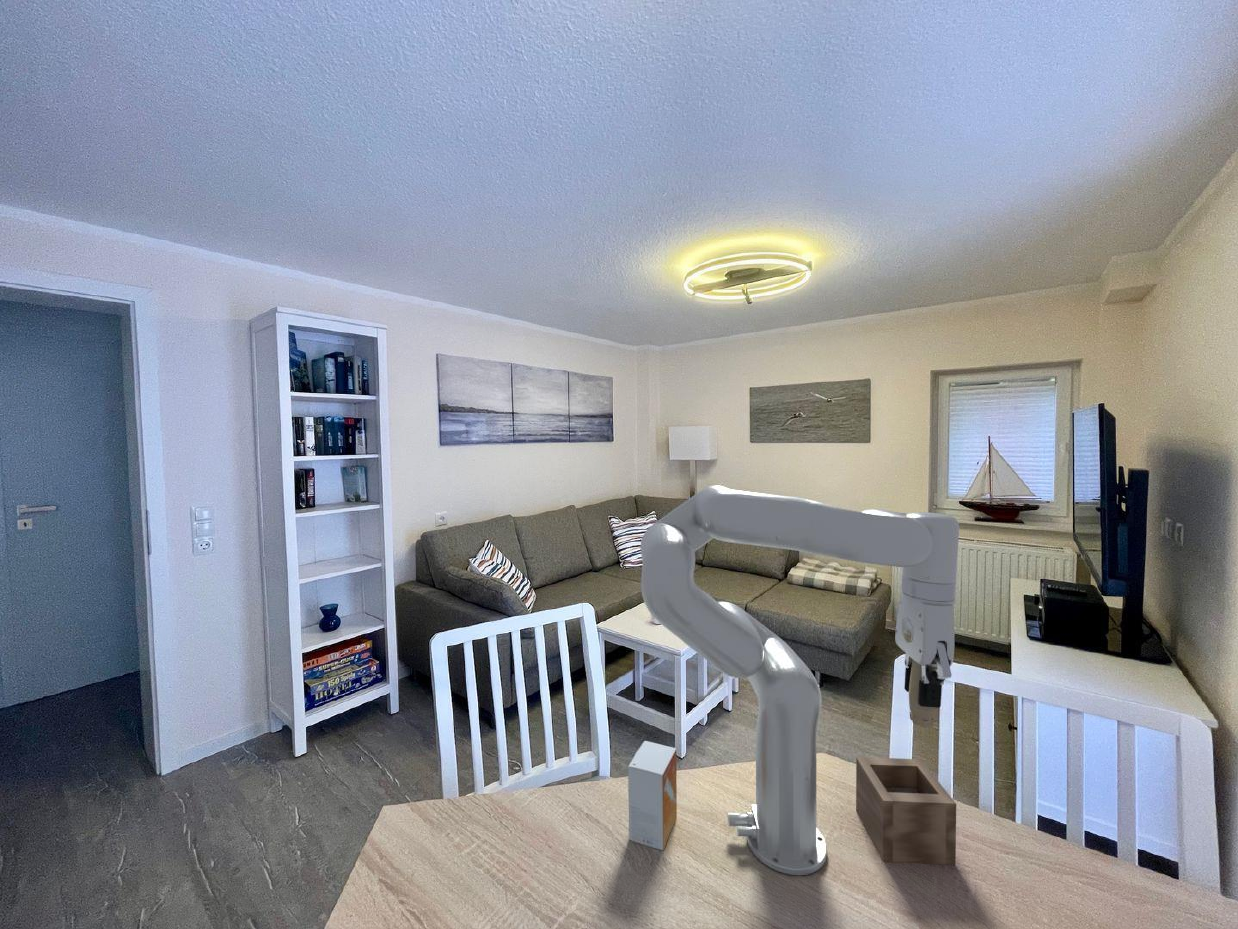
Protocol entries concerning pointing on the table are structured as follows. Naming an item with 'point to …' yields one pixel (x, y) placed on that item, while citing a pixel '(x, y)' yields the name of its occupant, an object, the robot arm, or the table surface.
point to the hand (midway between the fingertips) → (921, 697)
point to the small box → (652, 794)
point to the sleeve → (906, 811)
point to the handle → (918, 712)
